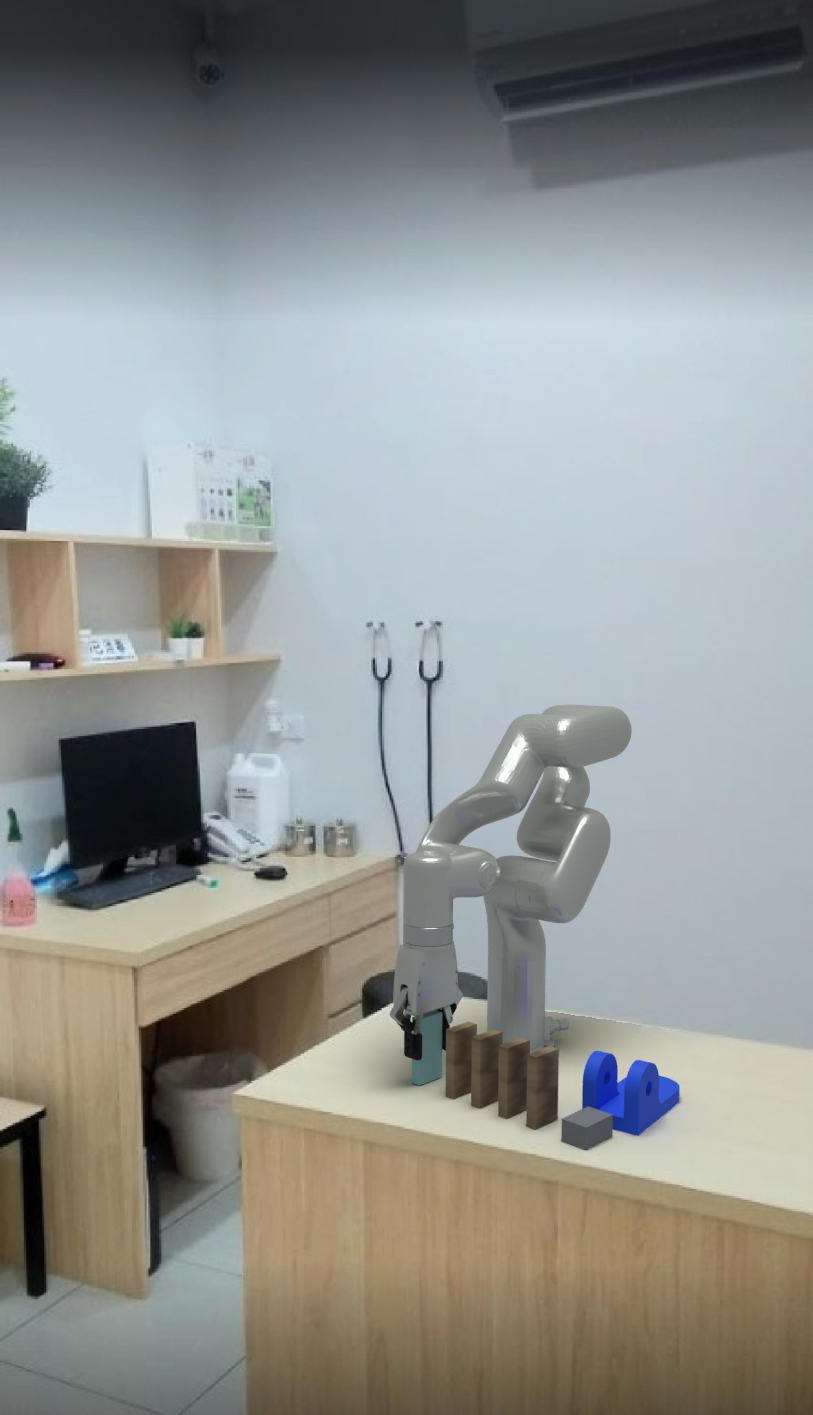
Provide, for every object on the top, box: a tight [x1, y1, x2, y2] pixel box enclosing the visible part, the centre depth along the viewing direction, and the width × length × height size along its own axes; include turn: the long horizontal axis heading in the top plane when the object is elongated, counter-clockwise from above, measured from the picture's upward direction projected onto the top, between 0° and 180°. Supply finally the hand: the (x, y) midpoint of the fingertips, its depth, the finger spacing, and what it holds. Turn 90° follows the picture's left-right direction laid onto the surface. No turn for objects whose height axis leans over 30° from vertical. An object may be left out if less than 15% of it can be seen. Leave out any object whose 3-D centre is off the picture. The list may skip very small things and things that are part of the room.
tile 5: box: [525, 1046, 560, 1131], centre depth 157 cm, size 5×2×10 cm, turn 136°
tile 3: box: [470, 1029, 503, 1110], centre depth 164 cm, size 5×2×10 cm, turn 136°
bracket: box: [581, 1050, 680, 1137], centre depth 163 cm, size 18×8×9 cm, turn 145°
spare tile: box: [411, 1010, 443, 1087], centre depth 173 cm, size 5×2×10 cm, turn 136°
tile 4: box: [497, 1037, 530, 1120], centre depth 161 cm, size 5×2×10 cm, turn 136°
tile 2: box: [445, 1021, 478, 1101], centre depth 168 cm, size 5×2×10 cm, turn 136°
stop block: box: [560, 1106, 614, 1151], centre depth 152 cm, size 6×4×3 cm, turn 136°
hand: (426, 1051), depth 173 cm, fingers open, 5 cm apart
